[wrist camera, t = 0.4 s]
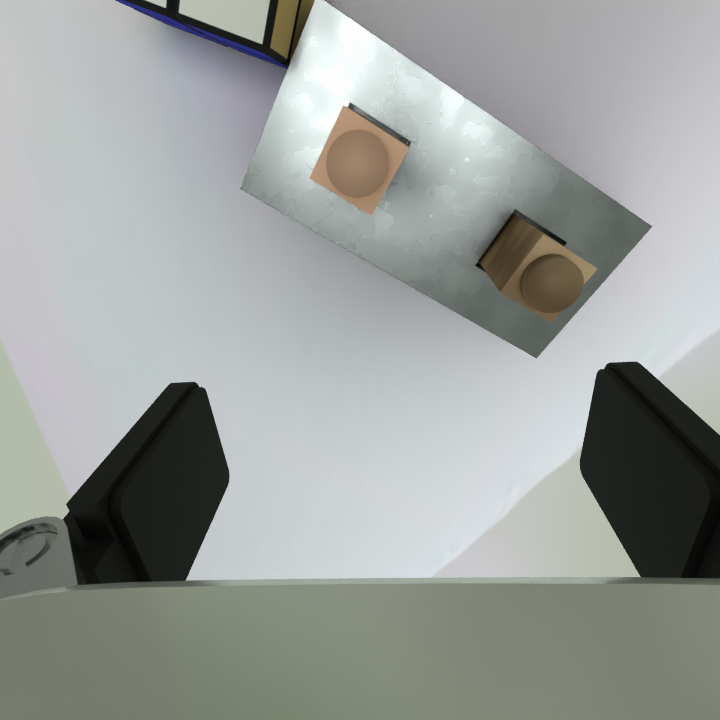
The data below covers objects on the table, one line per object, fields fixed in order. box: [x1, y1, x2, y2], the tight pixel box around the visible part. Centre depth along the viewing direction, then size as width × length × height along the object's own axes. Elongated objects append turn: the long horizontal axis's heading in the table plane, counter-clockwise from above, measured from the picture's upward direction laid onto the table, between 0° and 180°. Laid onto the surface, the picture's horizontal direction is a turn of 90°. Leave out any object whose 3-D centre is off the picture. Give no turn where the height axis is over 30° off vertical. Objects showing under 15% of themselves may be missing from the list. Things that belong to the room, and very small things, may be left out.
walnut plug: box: [478, 213, 597, 323], centre depth 30 cm, size 4×4×11 cm
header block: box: [240, 0, 652, 358], centre depth 32 cm, size 12×26×5 cm, turn 61°
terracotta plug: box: [309, 105, 409, 216], centre depth 27 cm, size 4×4×11 cm
